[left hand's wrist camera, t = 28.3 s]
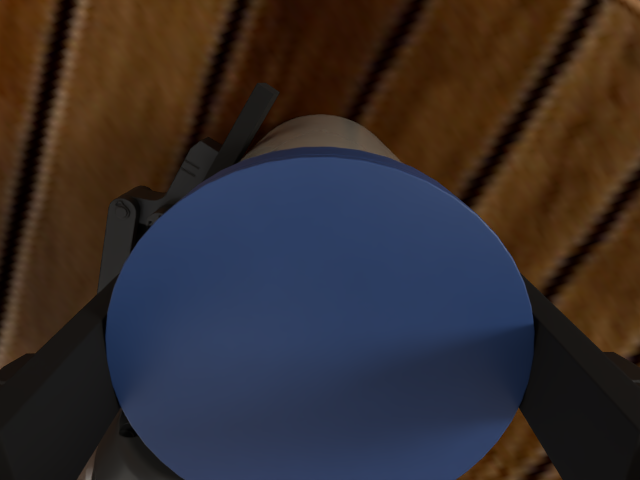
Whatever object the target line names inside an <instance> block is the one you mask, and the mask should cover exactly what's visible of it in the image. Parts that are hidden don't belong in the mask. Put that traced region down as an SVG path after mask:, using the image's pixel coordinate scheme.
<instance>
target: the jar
mask: <svg viewBox="0 0 640 480" xmlns="http://www.w3.org/2000/svg"><path fill="white" fill-rule="evenodd" d="M299 147H339V148H347V149H356V150H362V151H366V152H370V153H373V154H377V155H381V156H385V157H388V158H391V159H393V160H396V161H398V162H401V161H400V160H399V159H398V158H397V157H396V156H395V155H394V154H393V153H392V152H391V151H390V150H389V149H388V148H387V147H386V146H385V145H384V144H383V143H382V142H381V141H380V140H379V139H378V138H377V137H376V136H375V135H374V134H372V133H371V132H370V131H369V130H367V129H366V128H364V127H363V126H361V125H359V124H357V123H355V122H353V121H351V120H348V119H345V118H342V117H337V116H332V115H308V116H303V117H298V118H295V119H292V120H290V121H287V122H285V123H283V124H281V125H279V126H277V127H276V128H274V129H273V130H272V131H270V132H269V133H268V134H267V135H265V136H264V137H263V138H262V139H261V140H260V141H259V142H258V143H257V144H256V145H255V146H254V147H253V148H252V149H251V150H250V151H249V152H248V153H247V154H246V155H245V156H244V157H243V158H242V159H241V160H240V161H239V162H241V161H243V160H246V159H249V158H252V157H256V156H259V155H262V154H266V153H269V152H273V151H279V150H285V149H292V148H299ZM239 162H238V163H239ZM401 163H402V162H401Z"/></svg>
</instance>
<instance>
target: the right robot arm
mask: <svg viewBox="0 0 640 480" xmlns="http://www.w3.org/2000/svg"><path fill="white" fill-rule="evenodd" d="M279 93H280V92H278V91H277V90H275V89H274V88H272V87H271V86H269V85H268V84H266V83H257V85H256V86H255V88H254V90H253V92H252V94H251V95H250V97H249V99H248V101H247V103H246V104H245V106H244V108H243V110H242V111H241V113H240V115H239V117H238V119H237V120H236V122H235V124H234V126H233V128H232V129H231V131H230V133H229V135H228V136H227V138H226V140H225V142H224V144H223V145H221V144H219V143H217V142H216V141H214V140H213V139H211V138H209V137H207V138H205V139H203V140H201V141H200V142H198V143H197V144H196V145H194V146H193V147H192V148H191V149H190V151H189V153H188V155H187V156H186V158H185V160H184V162H183V164H182V166H181V168H180V169H179V171H178V173H177V175H176V177H175V179H174V181H173V183H172V184H171V186H170V188H169V190H168V192H167V193H160V192H155V191H152V190H151V189H150V188H148V187H146V186H138V187H135V188H134V189H132V190H130V191H128V192H127V193H125V194H123V195H121V196H120V197H118V198H116V199H114V200H113V201H112V202H111V203H110V206H109V209H108V217H107V224H106V231H105V239H104V246H103V254H102V261H101V268H100V276H99V283H98V291H97V294H98V293H99V292H100V291H101V290H102V289H103V288H104V287H105V286H106V285H107V284H108V283H109V282H111V281H112V280H113V279H114V278H115V277H116V276H117V275H118V274H119V273H120V271H121V269H122V267H123V265H124V263H125V261H126V260H127V258H128V256H129V255H130V253H131V252H132V250H133V249H134V247H135V245H136V244H137V242H138V241H139V239H140V238H141V237H142V236H143V235H144V234H145V233H146V232H147V230H148V229H149V228H150V227H151V226H152V225H153V224H154V222H155V221H156V220H157V219H158V218H159V217H160V216H162V215H163V214H164V213H165V212H166V211H168V210H169V209H170V208H171V207H172V206H173V205H175V204H176V203H177V202H178V201H179V200H181V199H182V198H183V197H184V196H185V195H186V194H188V193H189V192H190V191H191V190H192V189H194V188H195V187H196V186H197V185H198V184H200V183H202V182H203V181H205V180H206V179H208V178H210V177H211V176H213V175H214V174H216V173H218V172H219V171H221V170H223V169H225V168H228V167H230V166H232V165H234V164H237V163H238V162H239V161H240V160H241V158H242V157H243V155H244V153H245V151H246V150H247V148H248V146H249V144H250V143H251V141H252V139H253V138H254V136H255V134H256V132H257V131H258V129H259V127H260V126H261V124H262V122H263V120H264V119H265V117H266V115H267V114H268V112H269V110H270V108H271V107H272V105H273V103H274V101H275V100H276V98H277V96H278V95H279ZM77 480H184V479H183V478H181V477H180V476H178V475H177V474H176V473H175V472H174V471H172V470H171V469H170V468H169V467H168V466H166V465H165V464H164V463H163V462H162V461H161V460H160V459H159V458H158V457H157V456H156V455H155V454H154V453H153V452H152V451H151V450H150V449H149V448H148V447H147V446H146V445H145V444H144V442H143V441H142V440H141V438H140V437H139V435H138V434H137V433H136V431H135V430H134V429H133V427H132V426H131V424H130V422H129V421H128V419H127V417H126V415H125V413H124V412H123V410H122V408H120V410H119V411H118V413H117V415H116V416H115V418H114V420H113V421H112V423H111V424H110V426H109V428H108V429H107V431H106V433H105V434H104V436H103V438H102V439H101V441H100V443H99V445H98V446H97V448H96V450H95V451H94V453H93V454H92V456H91V457H90V459H89V461H88V462H87V464H86V466H85V467H84V469H83V471H82V472H81V474H80V475H79V477H78V479H77Z"/></svg>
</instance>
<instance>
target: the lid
mask: <svg viewBox="0 0 640 480" xmlns="http://www.w3.org/2000/svg"><path fill="white" fill-rule="evenodd" d="M534 335H535V330H534V323H533V315H532V307H531V303H530V300H529V297H528V293H527V290H526V286H525V283H524V281H523V278H522V276H521V274H520V272H519V270H518V268H517V266H516V264H515V262H514V260H513V258H512V256H511V255H510V253H509V252H508V250H507V249H506V248H505V246H504V245H503V243H502V242H501V240H500V239H499V237H498V236H497V235H496V234H495V233H494V232H493V231H492V229H491V228H490V227H489V226H488V225H487V224H486V223H485V222H484V221H483V220H482V219H481V218H480V217H479V216H478V215H477V214H476V213H475V212H474V211H473V210H471V209H470V208H469V207H468V206H467V205H466V204H464V203H463V202H462V201H461V200H460V199H459V198H457V197H456V196H455V195H454V194H452V193H451V192H450V191H449V190H447V189H446V188H445V187H443V186H442V185H441V184H440V183H438V182H437V181H435V180H434V179H432V178H430V177H429V176H427V175H425V174H423V173H422V172H420V171H418V170H416V169H415V168H413V167H411V166H408V165H406V164H403V163H401V162H398V161H396V160H393V159H391V158H388V157H385V156H381V155H377V154H373V153H370V152H366V151H362V150H356V149H347V148H339V147H299V148H292V149H285V150H279V151H273V152H269V153H266V154H262V155H259V156H256V157H252V158H249V159H246V160H243V161H241V162H239V163H237V164H234V165H232V166H230V167H228V168H225V169H223V170H221V171H219V172H218V173H216V174H214V175H213V176H211V177H210V178H208V179H206V180H205V181H203V182H202V183H200V184H198V185H197V186H196V187H195V188H194V189H192V190H191V191H190V192H189V193H188V194H186V195H185V196H184V197H183V198H182V199H181V200H179V201H178V202H177V203H176V204H175V205H173V206H172V207H171V208H170V209H169V210H168V211H166V212H165V213H164V214H163V215H162V216H160V217H159V218H158V219H157V220H156V221H155V222H154V224H153V225H152V226H151V227H150V228H149V229H148V230H147V232H146V233H145V234H144V235H143V236H142V237H141V238H140V239H139V241H138V242H137V244H136V245H135V247H134V249H133V250H132V252H131V253H130V255H129V256H128V258H127V260H126V261H125V263H124V265H123V267H122V269H121V271H120V274H119V276H118V278H117V281H116V283H115V285H114V288H113V292H112V296H111V300H110V303H109V307H108V311H107V321H106V332H105V343H106V357H107V362H108V367H109V372H110V377H111V381H112V386H113V388H114V391H115V394H116V396H117V399H118V401H119V404H120V406H121V408H122V410H123V412H124V413H125V415H126V417H127V419H128V421H129V422H130V424H131V426H132V427H133V429H134V430H135V431H136V433H137V434H138V435H139V437H140V438H141V440H142V441H143V442H144V444H145V445H146V446H147V447H148V448H149V449H150V450H151V451H152V452H153V453H154V454H155V455H156V456H157V457H158V458H159V459H160V460H161V461H162V462H163V463H164V464H165V465H166V466H168V467H169V468H170V469H171V470H172V471H174V472H175V473H176V474H177V475H178V476H180V477H181V478H183V479H184V480H455V479H457V478H458V477H460V476H461V475H463V474H464V473H466V472H467V471H468V470H469V469H470V468H471V467H472V466H474V465H475V464H476V463H477V462H478V461H479V460H480V459H482V458H483V457H484V456H485V454H486V453H487V452H488V451H489V450H490V449H491V448H492V447H493V446H494V444H495V443H496V442H497V441H498V440H499V438H500V437H501V436H502V434H503V433H504V431H505V430H506V428H507V427H508V426H509V424H510V423H511V421H512V419H513V417H514V415H515V413H516V411H517V409H518V408H519V406H520V404H521V402H522V399H523V396H524V393H525V391H526V388H527V385H528V381H529V377H530V372H531V367H532V361H533V356H534Z"/></svg>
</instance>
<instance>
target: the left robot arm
mask: <svg viewBox="0 0 640 480" xmlns="http://www.w3.org/2000/svg"><path fill="white" fill-rule="evenodd" d="M119 274H120V273H119ZM119 274H118V275H117V276H116V277H115V278H114V279H113V280H112V281H111V282H109V283H108V284H107V285H106V286H105V287H104V288H103V289H102V290H101V291H100V292H99V293H98V294H97V295H96V296H95V297H94V298H93V299H92V300H91V301H90V302H89V303H88V304H87V305H86V306H84V307H83V308H82V309H81V310H80V311H79V312H78V313H77V314H76V315H75V316H74V317H73V318H72V319H71V320H70V321H69V322H68V323H67V324H66V325H65V326H64V327H63V328H62V329H61V330H59V331H58V332H57V333H56V334H55V335H54V336H53V337H52V338H51V339H50V340H49V341H48V342H47V343H46V344H45V345H44V346H43V347H42V348H41V349H40V350H39V351H38V352H37V353H36V354H25V355H23V356H21V357H20V358H18V359H16V360H14V361H13V362H11V363H9V364H7V365H6V366H4V367H3V368H2V369H1V370H0V480H77V479H78V477H79V475H80V474H81V472H82V471H83V469H84V467H85V466H86V464H87V462H88V461H89V459H90V457H91V456H92V454H93V452H94V451H95V449H96V448H97V446H98V444H99V443H100V441H101V439H102V438H103V436H104V434H105V433H106V431H107V429H108V428H109V426H110V424H111V423H112V421H113V420H114V418H115V416H116V415H117V413H118V411H119V410H120V408H121V406H120V404H119V401H118V399H117V396H116V394H115V391H114V388H113V386H112V381H111V377H110V372H109V367H108V362H107V357H106V343H105V332H106V321H107V311H108V307H109V303H110V300H111V296H112V292H113V288H114V285H115V283H116V281H117V278H118V276H119ZM520 274H521V273H520ZM521 276H522V278H523V281H524V283H525V286H526V290H527V293H528V297H529V300H530V303H531V307H532V315H533V323H534V330H535V335H534V356H533V361H532V367H531V372H530V377H529V381H528V385H527V388H526V391H525V393H524V396H523V399H522V402H521V404H520V406H519V408H520V410H521V412H522V413H523V415H524V417H525V418H526V420H527V422H528V423H529V425H530V427H531V428H532V430H533V432H534V433H535V435H536V436H537V438H538V440H539V441H540V443H541V445H542V446H543V448H544V450H545V451H546V453H547V455H548V456H549V458H550V459H551V461H552V463H553V464H554V466H555V468H556V469H557V471H558V473H559V474H560V476H561V478H562V479H563V480H640V368H639V367H638V366H637V365H635V364H634V363H632V362H630V361H628V360H627V359H625V358H623V357H621V356H619V355H618V354H616V353H614V352H602V351H601V350H600V349H599V348H598V347H597V346H596V345H595V344H594V343H593V342H592V341H591V340H590V339H589V338H587V337H586V336H585V335H584V334H583V333H582V332H581V331H580V330H579V329H578V328H577V327H576V326H575V325H574V324H573V323H572V322H571V321H570V320H569V319H568V318H567V317H566V316H565V315H564V314H563V313H561V312H560V311H559V310H558V309H557V308H556V307H555V306H554V305H553V304H552V303H551V302H550V301H549V300H548V299H547V298H546V297H545V296H544V295H543V294H542V293H541V292H540V291H539V290H538V289H536V288H535V287H534V286H533V285H532V284H531V283H530V282H529V281H528V280H527V279H526V278H525V277H524V276H523V275H522V274H521Z"/></svg>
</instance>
